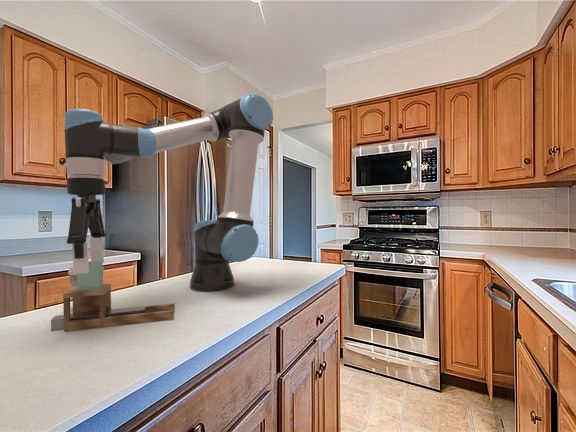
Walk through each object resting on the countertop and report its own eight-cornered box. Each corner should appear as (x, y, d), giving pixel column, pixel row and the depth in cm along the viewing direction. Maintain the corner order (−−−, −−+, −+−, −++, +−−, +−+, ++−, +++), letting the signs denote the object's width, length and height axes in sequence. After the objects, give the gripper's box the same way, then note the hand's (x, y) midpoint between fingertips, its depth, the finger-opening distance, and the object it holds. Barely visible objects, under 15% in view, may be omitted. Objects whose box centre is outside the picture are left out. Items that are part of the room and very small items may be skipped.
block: (102, 285, 77) (102, 261, 77) (98, 289, 73) (98, 263, 73) (83, 287, 76) (82, 262, 75) (77, 291, 72) (77, 264, 71)
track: (174, 310, 84) (174, 279, 83) (174, 319, 77) (173, 284, 77) (74, 321, 76) (73, 286, 76) (63, 331, 70) (63, 293, 70)
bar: (145, 317, 80) (145, 306, 80) (144, 321, 77) (144, 309, 77) (56, 327, 73) (55, 315, 73) (51, 332, 70) (50, 320, 70)
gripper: (83, 182, 84) (87, 260, 85) (45, 171, 61) (50, 280, 61) (114, 182, 87) (118, 258, 87) (89, 172, 63) (94, 276, 64)
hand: (90, 267), depth 74 cm, fingers open, 13 cm apart
